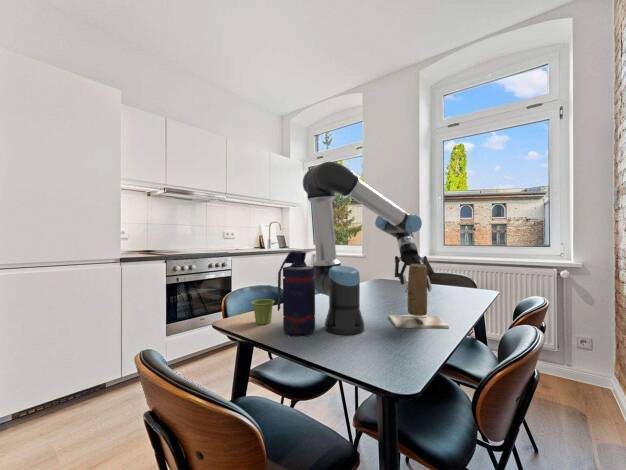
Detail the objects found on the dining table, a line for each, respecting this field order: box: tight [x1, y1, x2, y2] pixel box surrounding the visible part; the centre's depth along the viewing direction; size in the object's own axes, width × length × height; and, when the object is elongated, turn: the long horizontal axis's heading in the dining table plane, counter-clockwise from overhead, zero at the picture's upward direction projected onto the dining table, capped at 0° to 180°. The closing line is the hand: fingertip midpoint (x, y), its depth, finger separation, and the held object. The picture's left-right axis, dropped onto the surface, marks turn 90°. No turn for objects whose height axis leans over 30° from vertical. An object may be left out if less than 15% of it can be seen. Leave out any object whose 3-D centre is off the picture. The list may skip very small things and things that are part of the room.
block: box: [407, 263, 428, 316], centre depth 124 cm, size 11×8×20 cm
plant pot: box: [251, 298, 275, 325], centre depth 125 cm, size 9×9×9 cm
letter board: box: [388, 314, 450, 329], centre depth 124 cm, size 20×14×1 cm
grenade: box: [276, 250, 316, 337], centre depth 113 cm, size 14×12×30 cm
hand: (418, 290), depth 122 cm, fingers closed on block, 9 cm apart
